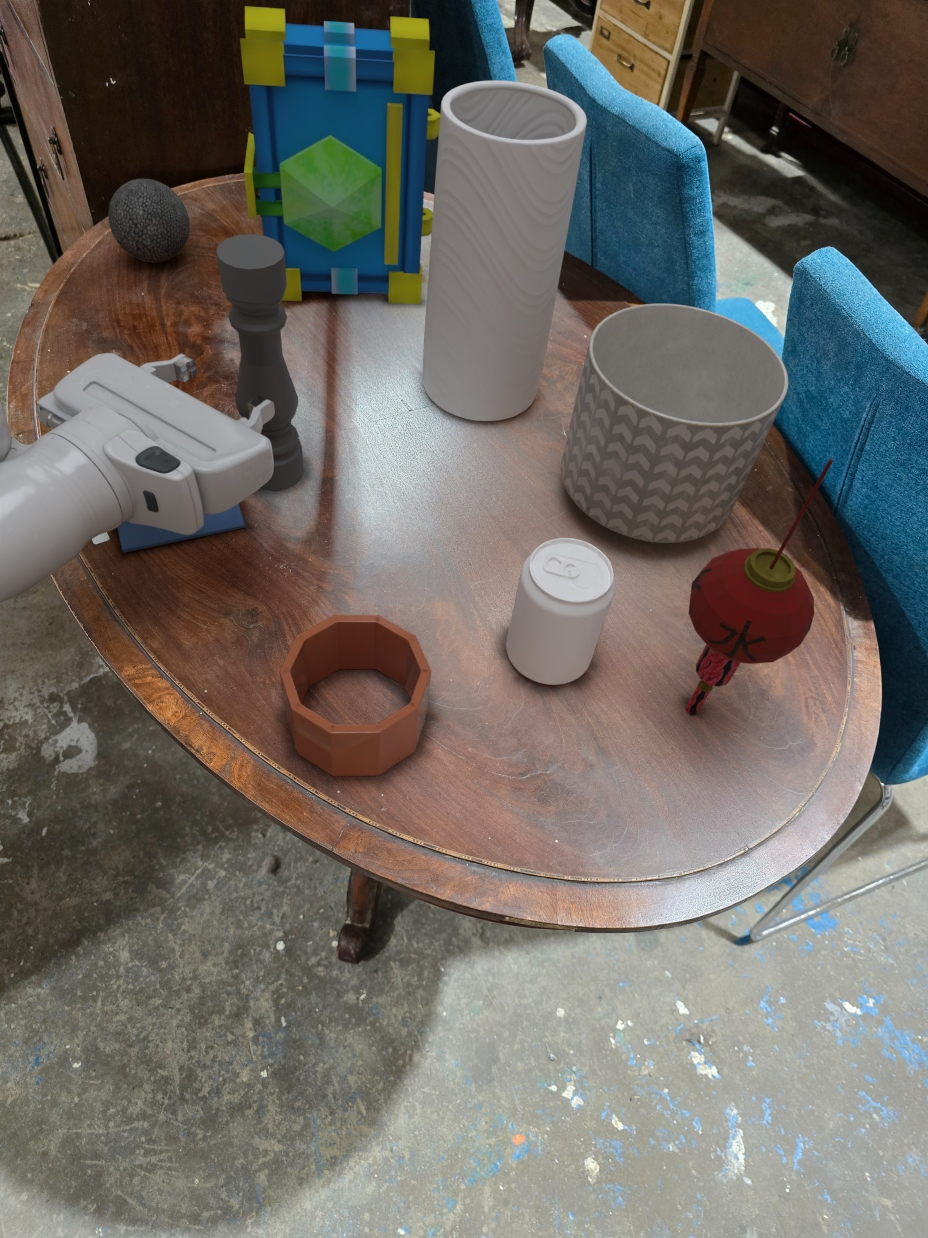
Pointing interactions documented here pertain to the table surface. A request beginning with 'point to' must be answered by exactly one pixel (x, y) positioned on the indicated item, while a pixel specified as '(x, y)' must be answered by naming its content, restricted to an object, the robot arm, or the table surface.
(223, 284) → the candle holder
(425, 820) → the table surface
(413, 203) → the decorative book
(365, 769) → the terracotta pot
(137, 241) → the decorative ball
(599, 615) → the beverage can
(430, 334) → the vase
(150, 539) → the blue cloth
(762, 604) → the lantern
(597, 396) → the planter
